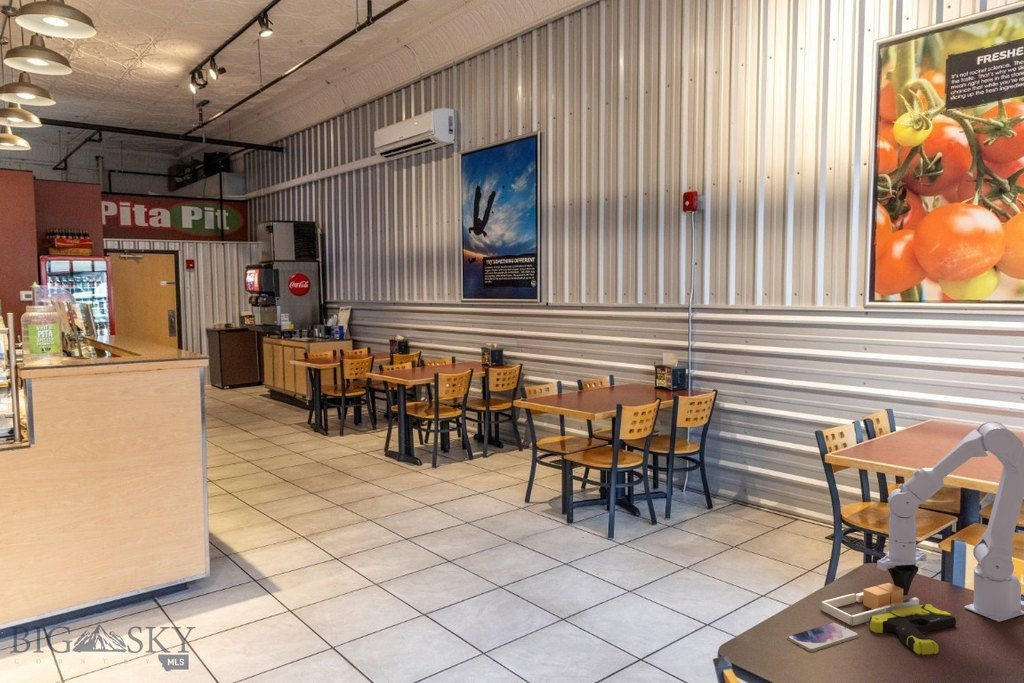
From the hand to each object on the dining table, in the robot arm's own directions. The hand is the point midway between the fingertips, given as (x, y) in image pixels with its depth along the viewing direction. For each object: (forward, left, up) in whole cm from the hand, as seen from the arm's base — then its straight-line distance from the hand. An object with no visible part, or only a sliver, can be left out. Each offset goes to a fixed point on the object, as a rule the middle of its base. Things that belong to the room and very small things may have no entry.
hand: (901, 593), depth 166 cm
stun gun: (+11, +14, -2) cm, 17 cm away
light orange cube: (+4, 0, -2) cm, 4 cm away
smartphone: (+32, +6, -2) cm, 32 cm away
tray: (+16, 0, -1) cm, 16 cm away
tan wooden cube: (+9, 0, -2) cm, 9 cm away
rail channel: (+5, 0, -1) cm, 5 cm away
